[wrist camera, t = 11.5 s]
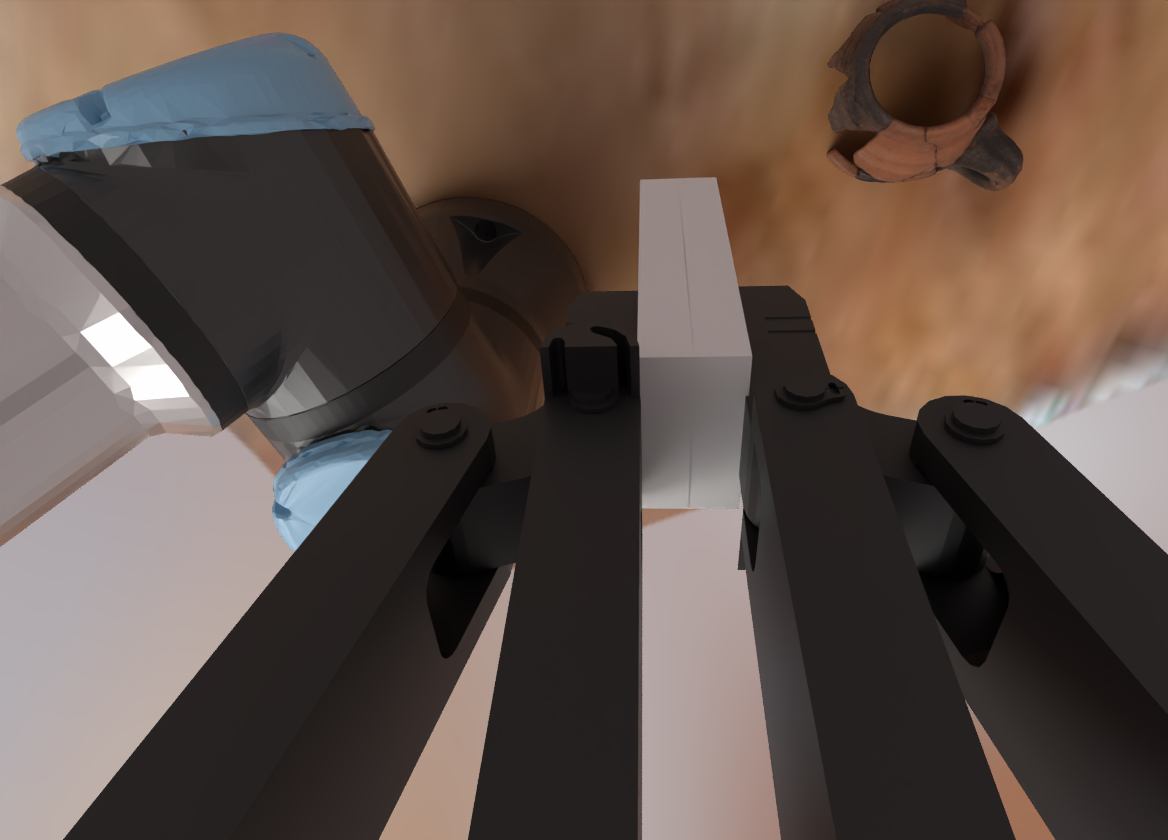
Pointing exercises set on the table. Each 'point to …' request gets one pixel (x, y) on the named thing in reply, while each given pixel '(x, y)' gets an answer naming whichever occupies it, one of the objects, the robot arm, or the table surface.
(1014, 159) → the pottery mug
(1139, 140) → the table surface
